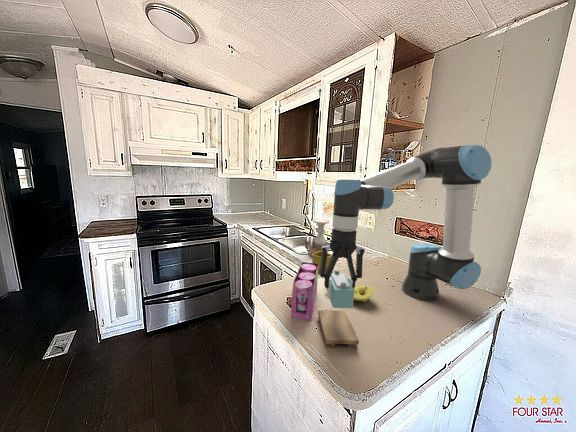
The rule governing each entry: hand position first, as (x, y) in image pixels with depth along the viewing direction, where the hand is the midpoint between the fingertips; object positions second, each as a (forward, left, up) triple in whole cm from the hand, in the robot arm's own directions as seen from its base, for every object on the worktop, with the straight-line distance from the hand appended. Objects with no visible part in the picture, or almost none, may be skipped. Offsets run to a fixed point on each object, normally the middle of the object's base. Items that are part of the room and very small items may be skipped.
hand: (338, 296), depth 78 cm
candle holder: (-6, -74, -13) cm, 75 cm away
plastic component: (-12, -24, -13) cm, 30 cm away
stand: (0, 0, -13) cm, 13 cm away
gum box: (+9, -18, -13) cm, 24 cm away
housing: (0, 0, 0) cm, 1 cm away
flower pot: (-4, -53, -13) cm, 55 cm away
